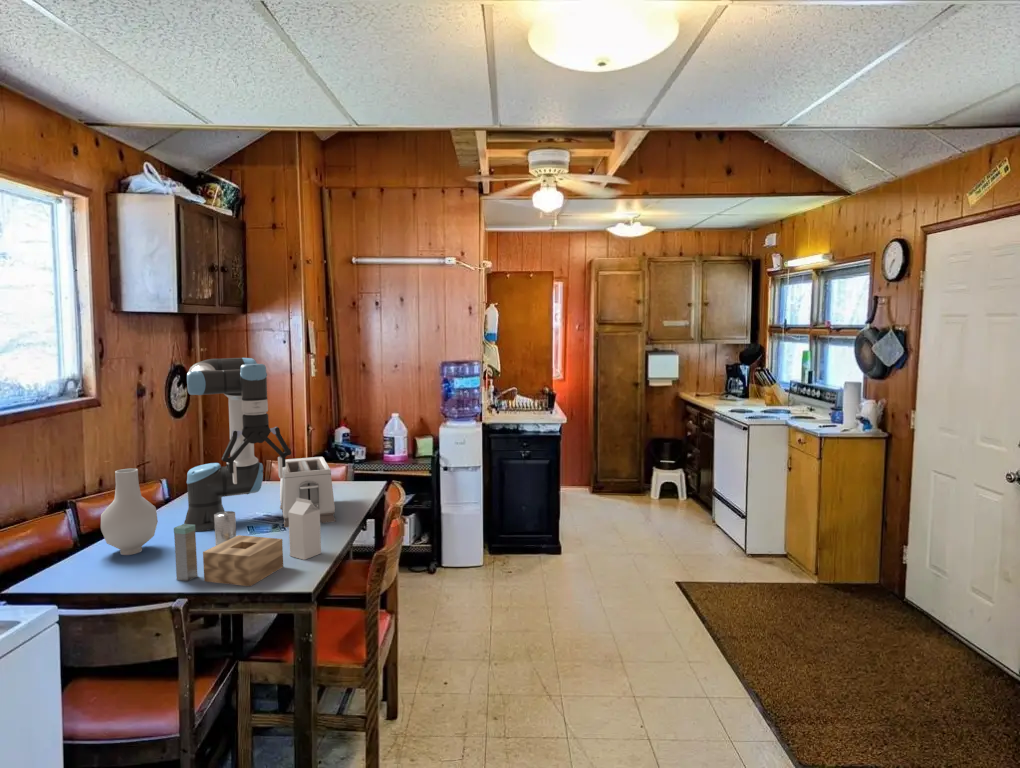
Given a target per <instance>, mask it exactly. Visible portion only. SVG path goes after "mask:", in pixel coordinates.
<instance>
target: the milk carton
mask: <svg viewBox="0 0 1020 768" xmlns="http://www.w3.org/2000/svg"><path fill="white" fill-rule="evenodd" d="M288 514H289V527H288V534H289V536H288V538H289V539H288V540H289V556H290V557H293V558H297V559H299V560H303V561H304V560H308V559H310V558H312V557H315V556H318V555H321V554H322V540H321V539H322V536H321V532H322V531H321V520H320V510H319V509H318V508H316V507H315V506H314V505H313V503H312V502H311V500H306V499H301V498H296V502H295V504H294V505H293V506H292V508H291V509H290V510H289V512H288Z"/></svg>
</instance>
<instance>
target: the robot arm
mask: <svg viewBox="0 0 1020 768" xmlns="http://www.w3.org/2000/svg"><path fill="white" fill-rule="evenodd" d="M267 378H268V373H267V366H266V365H265V363H258V362H257V360H256V359H254V358H251V357H229V358H228V357H227V358H225V357H224V358H210V359H209V358H208V359H205V360H202V361H201V360H200V361H199V362H196V363H194V364H193V365H192V366H190V367H189V370H188V371H187V373H186V384H187V385H186V386H187V393H188V394H189V395H190V396H195V395H196V396H203V395H219V394H223V395H224V396H225V397H227V398H228V423H229V441H228V444H227V446H226V448H225V451H224V453H223V455H222V457H221V461H222V462H224V463H226V464H225V465H226V466H221V464H220V463H219V462H210V463H205V464H200V465H196V466H194V467H191V468H190V469H189V470H188V471H187V474H186V484H187V502H188V503H187V504H188V505H187V506H188V507H187V508H188V509H187V511H186V515H185V520H183V524H191V525H195V532H203V531H204V532H205V531H212V530H215V522H214V514H216V513H219V512H224V511H225V508H224V506H223V501H222V499H223V497H224V498H225V497H232V496H241V495H250V494H255V493H258V492H259V491H261V488H262V485H263V478H264V477H263V476H264V473H263V472H264V465H263V463H262V462H259V458H258V457H256V456H255V444H257V443H259V444H263V443H264V442H266V444H268V445H269V446H270V447H271V448H272V449H273V450H274V451H275V452H276V453H277V455H279V456H278V457H277V469H278V472H277V473H278V478H279V479H281V478H283V470H282V467H285V466H286V463H285V460H286V457H288V456H290V455H292V452H291V450H290V448H289V445H287V443H286V441H285V439H284V438H283V436H282V434H281V430H280V427H279V426H274V427H271V428H270V425H269V414H268V411H269V404H268V379H267ZM271 433H272V434H273V435H275V437H276V438H277V440H278V442H279V444H280V446H281V448H282V449H283V450H284V452H283V451H282V450H281V448H279V447H278V446H277V445H276V444H275V443H274V442H273V441H272V440H271V439H270V438H269V437H268V436H270V434H271Z"/></svg>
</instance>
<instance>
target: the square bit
mask: <svg viewBox="0 0 1020 768" xmlns="http://www.w3.org/2000/svg"><path fill="white" fill-rule="evenodd" d="M173 534H174V552H175V553H174V554H175V571H176V576H175V577H176V581H182V582H183V581H184V582H189V581H191V580H193V579H195V578H197V577H199V576H198V559H197V539H196V538H197V537H196V531H195V525H191V524H184V523H182V524H180V525H178V526H175V527H173Z"/></svg>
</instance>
